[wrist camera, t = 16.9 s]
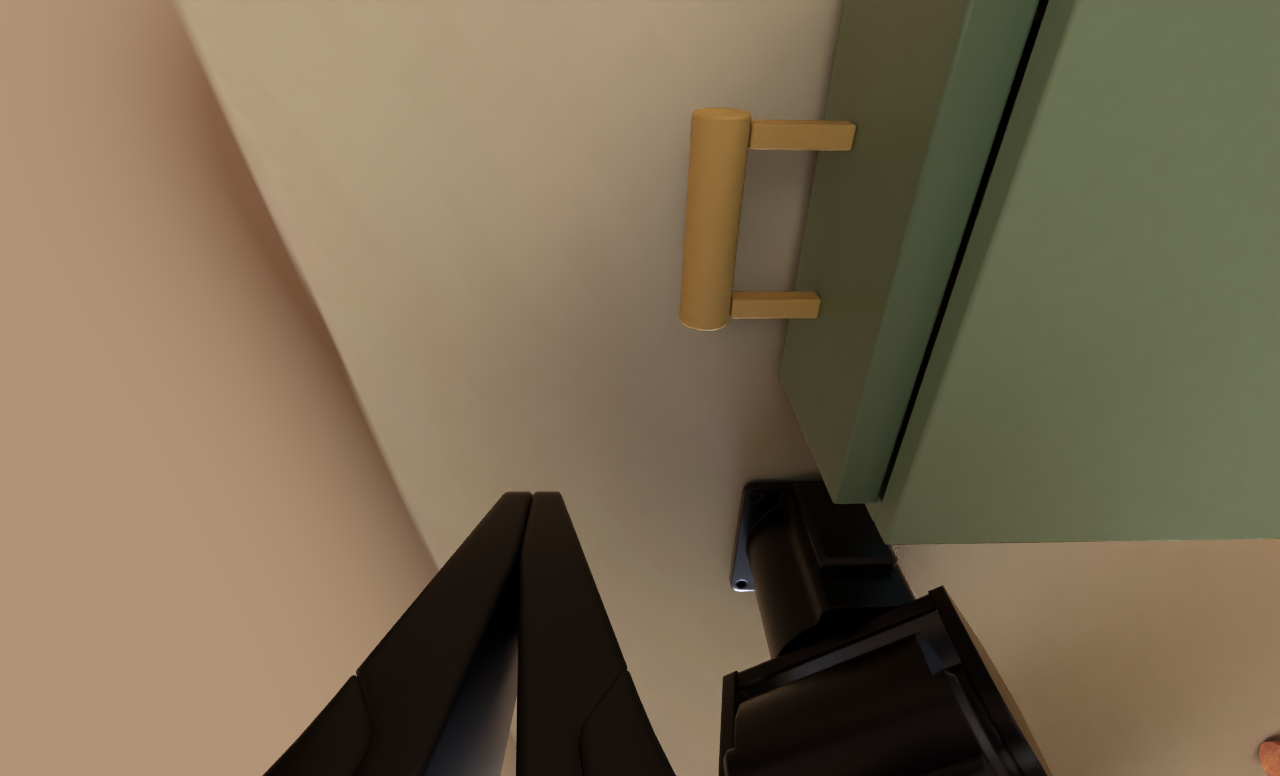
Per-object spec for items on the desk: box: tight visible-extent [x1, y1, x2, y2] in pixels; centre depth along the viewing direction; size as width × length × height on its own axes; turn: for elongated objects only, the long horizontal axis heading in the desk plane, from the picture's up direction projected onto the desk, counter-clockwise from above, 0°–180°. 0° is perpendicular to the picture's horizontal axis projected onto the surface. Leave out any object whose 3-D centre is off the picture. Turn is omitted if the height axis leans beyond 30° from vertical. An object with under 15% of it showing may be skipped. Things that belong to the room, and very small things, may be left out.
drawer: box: [680, 0, 1049, 504], centre depth 15 cm, size 16×12×6 cm
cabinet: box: [864, 0, 1280, 545], centre depth 15 cm, size 14×14×8 cm
